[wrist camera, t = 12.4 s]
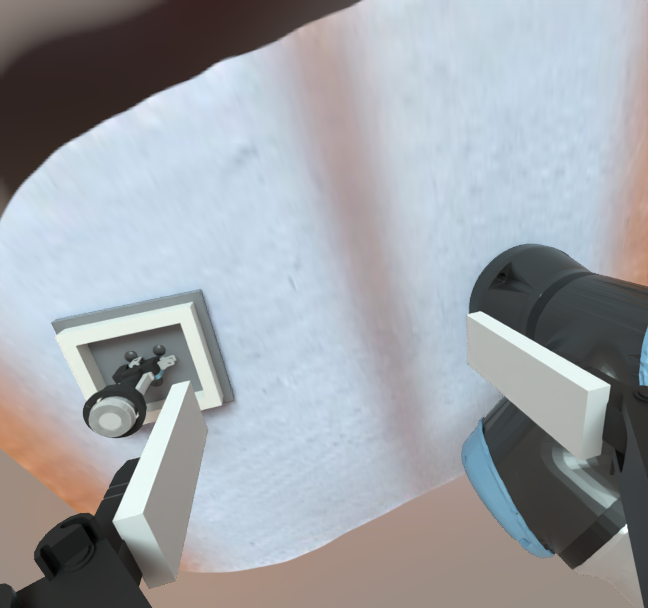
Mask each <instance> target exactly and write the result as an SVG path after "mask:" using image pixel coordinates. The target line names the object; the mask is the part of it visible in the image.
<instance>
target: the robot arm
mask: <svg viewBox="0 0 648 608" xmlns="http://www.w3.org/2000/svg"><path fill="white" fill-rule="evenodd" d="M466 326H467V361H468V365H469V366H470V367H472V368H473V369H474V370H475V371H476V372H477V373H478V374H480V375H481V376H482V377H483V378H484V379H485V380H487V381H488V382H489V383H490V384H491V385H492V386H494V387H495V388H496V389H497V390H498V391H499V392H501V393H502V394H503V395H504V397H503V398H502V399H501V400H500V401H499V402H498V404H497V405H496V406H495V407H494V408H493V409H492V410H491V411H490V412H489V414H488V415H487V416H486V417H485V418H483V417H482V418H481V419H480V420H479V422H478V426H477V427H476V429H475V430H474V431H473V433H472V434H471V435H470V436H469V438H468V439H467V440H466V441H465V443H464V445H463V447H462V453H461V456H462V462H463V466H464V468H465V472H466V474H467V476H468V478H469V480H470V482H471V484H472V486H473V487H474V489H475V491H476V492H477V494H478V495H479V497H480V499H481V500H482V502H483V503H484V504H485V506H486V507H487V508H488V510H489V511H490V512H491V514H492V515H493V516H494V518H495V519H496V520H497V521H498V522H499V524H500V525H501V526H502V527H503V528H504V529H505V531H506V532H507V533H508V534H509V535H510V536H511V537H512V538H513V539H515V540H518V541H519V543H520V544H521V545H522V547H523V548H524V549H525V550H527V551H528V552H530V553H531V554H532V555H534V556H536V557H540V558H546V557H552V556H553V555H554V554H555V553H556V554H558V555H559V556H560V557H561V558H562V559H563V561H564V562H565V563H566V564H567V565H568V566H569V567H570V568H571V569H572V570H573V571H574V572H575V573H577V574H582V575H587V576H593V577H597V578H601V579H604V580H606V581H608V582H610V583H611V584H612V585H613V586H614V587H615V588H616V589H617V590H618V591H619V592H620V593H621V594H622V595H623V596H624V597H625V598H626V599H627V600H628V601H629V602H630V603H631V604H632V605H633V606H634V607H635V608H648V287H647V286H643V285H639V284H635V283H631V282H627V281H624V280H620V279H616V278H612V277H608V276H603V275H599V274H596V273H592V272H590V271H589V270H588V269H586V268H585V267H584V266H582V265H581V264H579V263H578V262H576V261H575V260H573V259H572V258H571V257H570V256H569V255H567V254H566V253H564V252H563V251H561V250H558V249H556V248H553V247H549V246H544V245H539V244H524V245H519V246H516V247H513V248H511V249H509V250H507V251H505V252H503V253H502V254H500V255H499V256H497V257H496V258H495V259H494V260H492V261H491V262H490V263H489V264H488V265H487V267H486V268H485V269H484V270H483V272H482V273H481V275H480V276H479V278H478V280H477V281H476V283H475V286H474V288H473V291H472V294H471V299H470V314H467V315H466ZM207 433H208V429H207V426H206V423H205V420H204V417H203V415H202V412H201V409H200V406H199V404H198V401H197V398H196V395H195V392H194V390H193V387H192V384H191V381H186V382H181V383H177V384H173V385H172V387H171V389H170V392H169V394H168V396H167V398H166V401H165V403H164V405H163V407H162V410H161V412H160V414H159V417H158V419H157V421H156V423H155V426H154V428H153V430H152V433H151V435H150V437H149V439H148V442H147V444H146V446H145V448H144V451H143V453H142V455H141V457H140V458H136V459H132V460H128V461H126V463H125V464H124V465H123V466H122V467H121V468H120V469H119V470H118V471H117V472H116V474H115V476H114V478H113V480H112V482H111V484H110V486H109V489H108V490H107V492H106V494H105V496H104V500H102V502H101V504H100V506H99V508H98V510H97V512H96V514H95V516H93V515H91V514H90V513H80V514H77V515H74V516H71V517H69V518H67V519H65V520H64V521H62V522H60V523H59V524H57V525H56V526H55V527H54V528H53V529H51V530H50V531H49V532H48V533H47V534H46V535H45V536H44V537H43V539H42V540H41V541H40V542H39V544H38V546H37V548H36V550H35V552H34V560H35V562H36V563H37V565H38V566H39V568H40V569H41V571H42V572H43V573H44V575H45V577H43V578H42V579H40V580H38V581H36V582H34V583H32V584H30V585H29V586H27V587H25V588H23V589H21V590H19V591H17V592H15V591H14V590H13V589H12V587H11V586H9V585H7V584H5V583H4V584H0V608H152V607H151V605H150V604H149V602H148V601H147V599H146V597H145V596H144V595H143V593H142V591H141V590H140V588H139V585H140V581H141V578H142V577H143V579H144V581H145V583H146V584H147V586H148V588H149V589H151V588H154V587H158V586H161V585H164V584H168V583H171V582H174V581H176V579H177V574H178V569H179V565H180V560H181V555H182V551H183V546H184V541H185V536H186V532H187V527H188V522H189V518H190V513H191V508H192V503H193V499H194V494H195V489H196V485H197V480H198V475H199V470H200V466H201V461H202V456H203V452H204V447H205V442H206V437H207Z"/></svg>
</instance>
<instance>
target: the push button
mask: <svg viewBox="0 0 648 608" xmlns="http://www.w3.org/2000/svg"><path fill="white" fill-rule="evenodd" d="M141 358H142V357H139V358H136V359H134V360H133V361H132V362H131V363H130V365H129V366H128V364H125V365H122V366H120V367H119V368H118V369H117V371H116V372H115V373H114V375H113V376H112V378H113V380H114V382H115V383H116V384H114V385H108V386H106V387H105V388H104V389H102V390H100V391H98V392H96V393H94V394H93V395H92V396H91V397H90V398H89V399H88V400H87V402H86V403H85V405H84V408H83V418H84V420H85V422H86V424H87V426H88V427H89V428H90V429H91V430H93V431H94V432H95V433H97V434H99V435H101V436H105V437H109V438H122V437H126V436H129V435H131V434H133V433H135V432H136V431H138V430H139V429H140V428H141V426H142V425H143V423H144V421H145V418H146V410H147V406H146V403H145V400H144V397H143V396H144V394H145V392H146V391H147V390H148V389H149V387H150V383H151V382H152V381H154V380H157V379H159V378H161V377H162V374H163V372H164V370H165V369H166V367H168V366H171V365H174V364H175V363H174V361H176V358H175V356H174V355H171V356H168V357H166V358H165V357H162V358H160V356H155V357H152V358H150V359H147V360H145V361H142V362H139V361H140V360H141ZM169 358H171V359H169ZM172 358H173V359H172ZM137 359H138V360H137ZM135 360H137V361H135ZM168 363H171V364H168ZM100 398H102V399H101V400H100V401H99V402H97V400H98V399H100ZM137 413H138V415H139V416H138V418H136V415H137Z"/></svg>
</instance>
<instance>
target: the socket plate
mask: <svg viewBox="0 0 648 608" xmlns="http://www.w3.org/2000/svg"><path fill="white" fill-rule="evenodd" d="M51 324H52V326H53V328H54V330H55V332H56V334H57V335H56V336H55V338H56V340H57V342H58V344H59V346H60V348H61V350H62V352H63V354H64V356H65V358H66V360H67V362H68V364H69V367H70V369H71V371H72V373H73V375H74V377H75V379H76V381H77V383H78V385H79V387H80V389H81V391H82V393H83V395H84V397H85V399H86V401H87V400H88V399H89V398H90V397H91V396H92V395H93V394H94V393H96V392H98V391H100V390H102V389H104V388H105V387H106V386H108V385H114V384H116V383H115V382H114V380H113V378H112V376H113V375H114V373H115V372H116V371H117V369H118V368H119V367H120V366H122V365H125V364H128V366H129V365H130V363H131V362H132V361H133V360H134V359H136V358H139V357H142V358H141V360H140V361H139V362H142V361H145V360H147V359H150V358H152V357H155V356H160V358H162V357H165V358H166V357H168V356H171V355H174V356H175V358H176V361H174V363H175V364H174V365H171V366H168V367H166V369H165V370H164V372H163V374H162V377H161V378H159V379H157V380H154V381H152V382H151V383H150V387H149V389H148V390H147V391H146V392H145V394H144V396H143V397H144V400H145V403H146V406H147V410H146V418H145V421H144V423H143V425H144V424H148V423H152V422H156V421H157V419H158V417H159V414H160V412H161V410H162V407H163V405H164V403H165V401H166V398H167V396H168V394H169V392H170V389H171V387H172V385H173V384H177V383H181V382H186V381H191V384H192V387H193V390H194V392H195V395H196V398H197V401H198V404H199V406H200V409H201V410H205V409H209V408H213V407H217V406H221V405H222V403H225V402H229V401H233V400H234V395H233V391H232V388H231V385H230V382H229V378H228V375H227V372H226V369H225V366H224V362H223V359H222V356H221V353H220V349H219V346H218V343H217V340H216V337H215V333H214V330H213V327H212V324H211V320H210V317H209V314H208V311H207V307H206V304H205V301H204V298H203V295H202V291H201V289H199V290H195V291H190V292H185V293H180V294H175V295H171V296H166V297H161V298H156V299H152V300H147V301H142V302H137V303H132V304H128V305H123V306H118V307H113V308H109V309H104V310H99V311H94V312H89V313H85V314H80V315H75V316H70V317H65V318H61V319H56V320H55V321H53V322H52V323H51ZM169 359H171V358H169ZM172 359H173V358H172ZM137 360H138V359H137ZM137 360H135V361H137ZM168 364H171V363H168ZM101 399H102V398H100V399H98V400H97V402H99V401H100V400H101ZM138 416H139V415H138V413H137V415H136V418H138Z"/></svg>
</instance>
